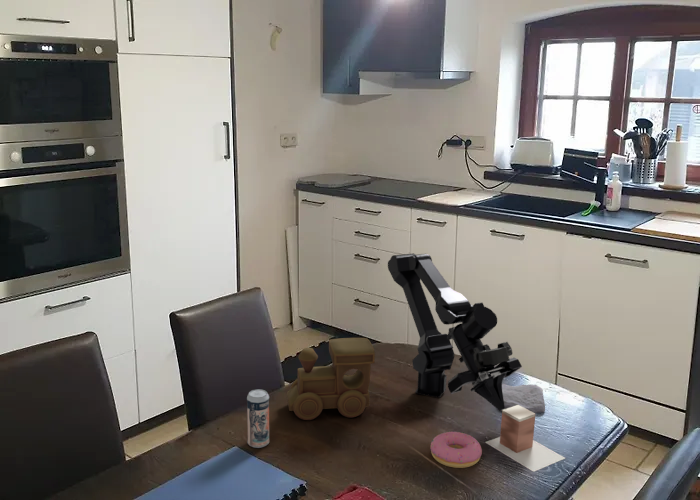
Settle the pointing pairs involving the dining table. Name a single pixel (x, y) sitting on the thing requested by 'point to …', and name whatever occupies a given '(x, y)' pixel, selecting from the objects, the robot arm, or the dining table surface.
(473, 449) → the doughnut
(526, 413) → the brick block
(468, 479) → the dining table surface
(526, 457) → the white paper sheet
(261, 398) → the beer can
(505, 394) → the stone block
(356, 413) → the wooden toy train
